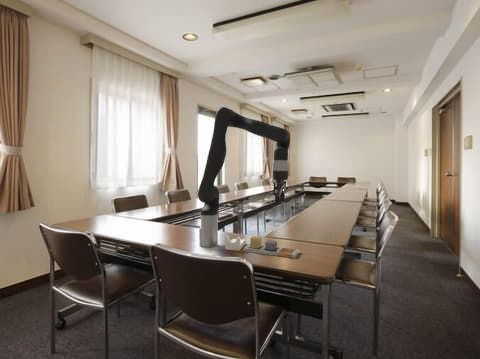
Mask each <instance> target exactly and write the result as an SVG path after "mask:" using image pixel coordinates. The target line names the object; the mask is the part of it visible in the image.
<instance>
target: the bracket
mask: <svg viewBox="0 0 480 359" xmlns="http://www.w3.org/2000/svg"><path fill="white" fill-rule="evenodd" d="M246 240H247V239H241V236H238V237H237V238H233V239H231V238H230V235H226V236H225V250H226V251H228V250H230V251H240V250H241V249H242V248H244V246H246V243H247V241H246Z"/></svg>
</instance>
